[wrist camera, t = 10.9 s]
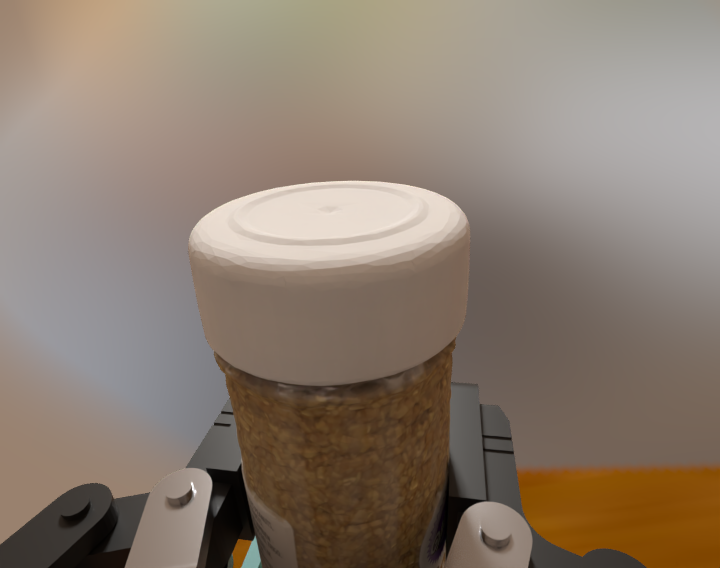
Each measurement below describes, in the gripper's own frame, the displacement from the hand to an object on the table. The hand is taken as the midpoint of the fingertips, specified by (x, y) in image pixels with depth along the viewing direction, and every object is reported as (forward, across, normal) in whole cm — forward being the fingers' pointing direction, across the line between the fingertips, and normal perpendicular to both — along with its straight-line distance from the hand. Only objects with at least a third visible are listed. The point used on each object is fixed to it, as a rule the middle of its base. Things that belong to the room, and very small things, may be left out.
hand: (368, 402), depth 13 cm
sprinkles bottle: (-3, 0, +7) cm, 8 cm away
